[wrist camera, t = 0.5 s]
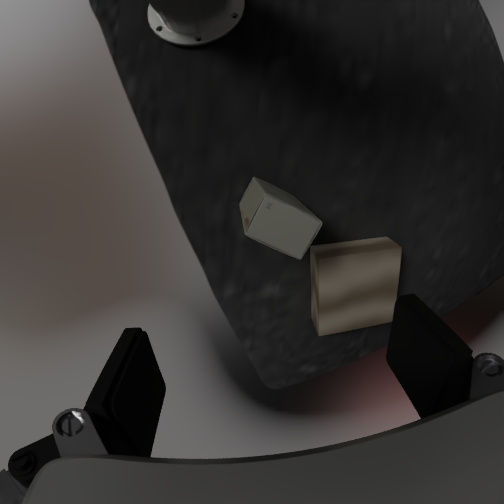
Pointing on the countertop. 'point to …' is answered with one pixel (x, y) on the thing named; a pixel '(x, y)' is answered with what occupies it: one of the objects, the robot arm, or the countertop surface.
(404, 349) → the robot arm
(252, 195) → the skincare box
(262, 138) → the countertop surface
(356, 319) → the birch block
